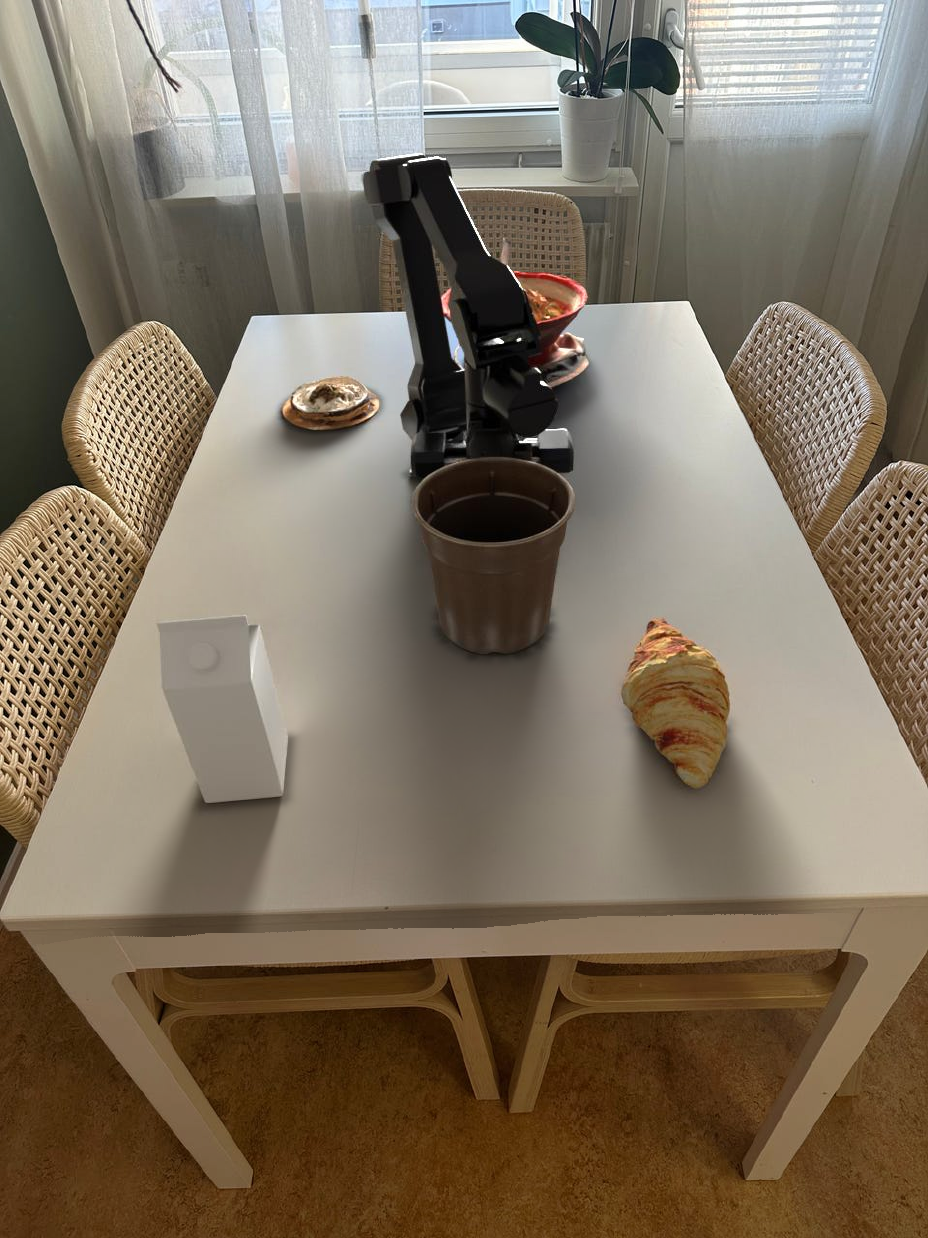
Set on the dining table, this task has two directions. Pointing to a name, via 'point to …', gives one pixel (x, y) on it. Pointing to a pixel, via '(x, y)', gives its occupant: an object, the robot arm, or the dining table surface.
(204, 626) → the milk carton
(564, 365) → the stew
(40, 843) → the dining table surface
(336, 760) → the dining table surface
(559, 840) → the dining table surface
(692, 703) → the croissant
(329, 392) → the stacked pancakes
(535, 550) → the plant pot
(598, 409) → the dining table surface
